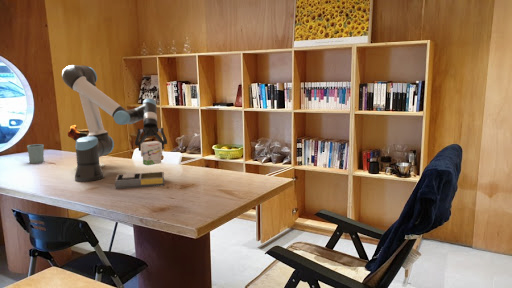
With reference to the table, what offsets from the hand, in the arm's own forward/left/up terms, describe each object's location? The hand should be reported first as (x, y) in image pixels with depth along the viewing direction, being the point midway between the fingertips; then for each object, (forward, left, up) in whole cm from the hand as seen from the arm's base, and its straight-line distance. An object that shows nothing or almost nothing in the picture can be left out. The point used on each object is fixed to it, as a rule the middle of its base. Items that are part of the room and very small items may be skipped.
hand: (151, 154), depth 208 cm
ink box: (0, +2, -6) cm, 6 cm away
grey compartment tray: (-6, +2, -16) cm, 18 cm away
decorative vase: (-40, +57, -16) cm, 72 cm away
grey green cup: (-78, +83, -16) cm, 116 cm away
